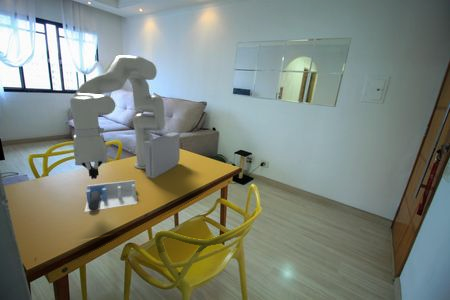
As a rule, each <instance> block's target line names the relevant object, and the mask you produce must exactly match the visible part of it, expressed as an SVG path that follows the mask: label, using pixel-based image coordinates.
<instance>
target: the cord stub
mask: <svg viewBox="0 0 450 300" xmlns="http://www.w3.org/2000/svg"><path fill="white" fill-rule="evenodd" d="M99 198H100V192H99V191H93V192H92V194H91V198H90V203H89V209H90V210H94V211H97V210H96V209H97V208H98V205H99Z"/></svg>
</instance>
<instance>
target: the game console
mask: <svg viewBox="0 0 450 300" xmlns="http://www.w3.org/2000/svg"><path fill="white" fill-rule="evenodd" d="M180 137H181V134H180V133H179V132H174V131H173V132H168V133H165V134H163V135H161V136H158V137H157V136H156V137H153V139H151V140H148V141H145V163H146V169H145V177H146V178H151V179H155V178H157V177H159V176H160V175H162V174H164V173H166V172H167V171H170V170H171V169H173V168H174V167H176V166H177V165H179V162H180V159H181V158H180V154H181V153H180V151H181V150H180V149H181V148H180V146H181V145H180V143H181V140H180V139H181V138H180Z"/></svg>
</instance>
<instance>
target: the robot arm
mask: <svg viewBox="0 0 450 300" xmlns="http://www.w3.org/2000/svg"><path fill="white" fill-rule="evenodd" d="M157 71H158V70H157V66H156V65H155V64H154V63H153V62H152V61H150V60H149V59H147V58H144V57H141V56H136V55H126V54H125V55H124V54H123V55H122V54H121V55H117V56H115V57H114V58H113V60H111V62H110V64H109V65H108V66H107V68H106V69H105V71H104V72H103V73H102V74H100V75H97V76H95V77H94V78H93V77H92V78H90V79H88V80H87V81H85V82H83V84H81V85H80V87H79V88H78V89H77V90H76V92H75V93H74V94H73V97H71V98H70V100H69V103H70V109H71V115H72V116H71V117H72V122H73V126H74V135H73V141H72V143H73V146H72V147H73V157H74V165H75V166H82V167H84V168H86V170H88V175H89V177H91V179H92V180H96V179H97V178H98V177H97V176H99V167H101V166H102V164H103V165H104V164H107V163H108V162H109V159H108V157H107V156H108V152H107V146H106V141H105V138H104V135H103V132H104V133H105V128H104V127H100V123H99V116H107V115H110V114H112V113H113V112H114V111H115V109H116V102H115V100H114V99H113V97H111V96H109V95H106V94H108V93H112V92H117V91H119V90H121V89H123V87H124V86H125V83H126V82H127V80H128V81H129V83H130V84H131V89H132V96H133V106H134V109H135V110H136V111H138V112H143V113H136V114H135V115H134V116H133V118H132V124H133V129H134V134H135V147H136V148H135V150H136V153H135V154H136V162H134V164H133V165H134V168H137V169H140V170H146V163H145V141H148V140H151V139H154V137H153V134H152V132H162V131H164V129H165V125H166V124H165V123H166V122H165V121H166V120H165V119H166V117H165V103H164V100H163V98H162V96H160V95H157V94H155V95H154V94H151V93H150V85H149V83H148V82H147V81H151V80H155V78H156V77H157ZM152 113H153V114H152ZM92 163H94V165H92Z"/></svg>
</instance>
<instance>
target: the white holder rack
mask: <svg viewBox="0 0 450 300" xmlns="http://www.w3.org/2000/svg"><path fill="white" fill-rule="evenodd" d="M86 187H87V188H86V192H85V193H86V205H85V208H84V213H86V212H92V211H94V212H95V211H99V210H105V209H113V208H117V207H119V208H120V207H125V206H131V205H132V206H133V205H137V204H138V199H137V198H138V197H137V191H136V180H135V179H132V180H131V179H130V180H122V181H115V182H105V183H104V182H103V183H96V184H89V185H86ZM93 191H99V192H100V198H99V205H98V208H97V209H96V210H90V209H89V203H90V198H91V194H92V192H93Z"/></svg>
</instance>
